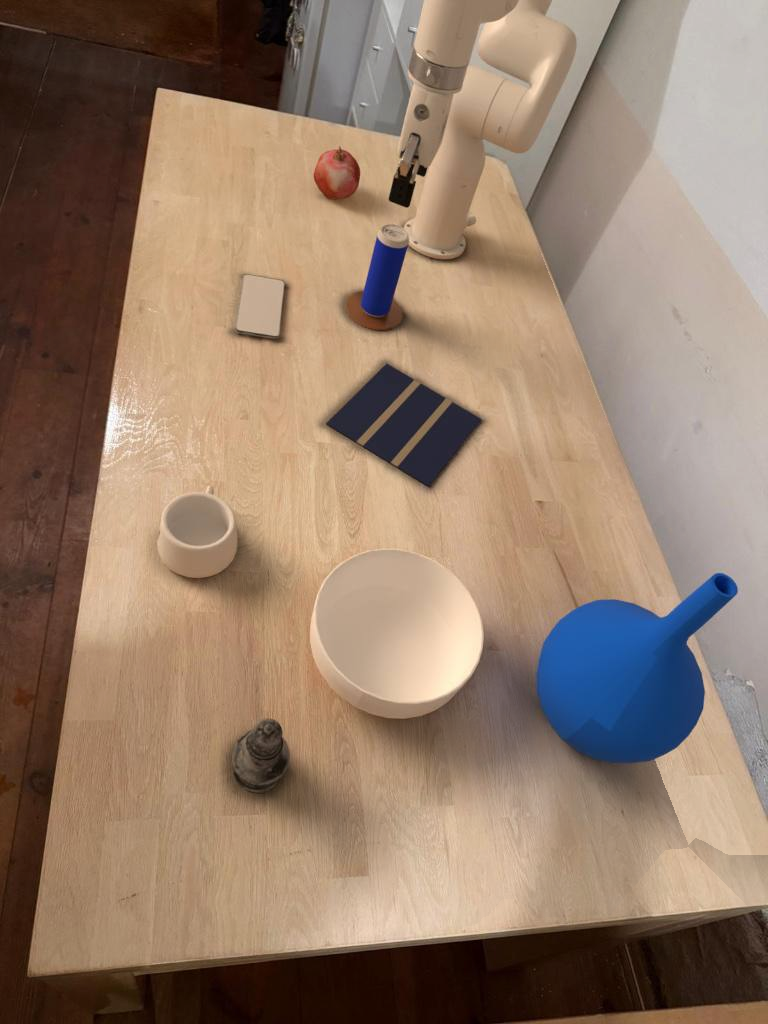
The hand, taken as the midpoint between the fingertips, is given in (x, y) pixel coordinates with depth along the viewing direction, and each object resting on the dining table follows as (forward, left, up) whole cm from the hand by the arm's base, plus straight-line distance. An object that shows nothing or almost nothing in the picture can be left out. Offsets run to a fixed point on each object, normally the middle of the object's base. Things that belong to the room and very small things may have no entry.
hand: (407, 187), depth 111 cm
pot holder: (+14, +22, -23) cm, 35 cm away
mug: (+52, +22, -23) cm, 61 cm away
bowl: (+44, +48, -23) cm, 69 cm away
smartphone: (+17, -10, -23) cm, 30 cm away
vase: (+29, +69, -23) cm, 79 cm away
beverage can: (0, 0, -23) cm, 23 cm away
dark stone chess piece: (+64, +49, -23) cm, 84 cm away
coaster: (0, 0, -23) cm, 23 cm away
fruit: (-18, -31, -23) cm, 42 cm away
